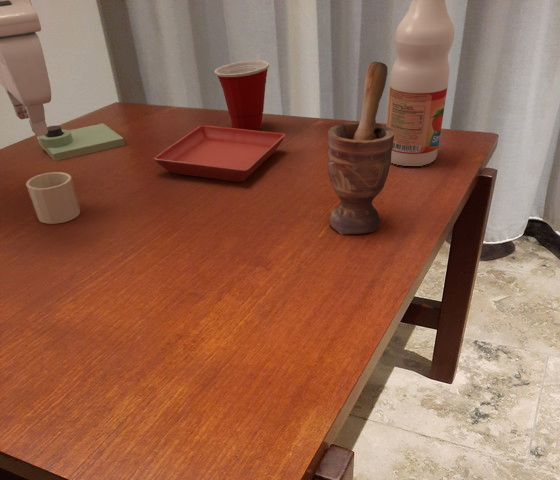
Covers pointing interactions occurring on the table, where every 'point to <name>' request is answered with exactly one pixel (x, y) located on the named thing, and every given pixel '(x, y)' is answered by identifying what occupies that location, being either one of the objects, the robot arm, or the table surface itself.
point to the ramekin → (53, 197)
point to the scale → (80, 141)
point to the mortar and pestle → (360, 160)
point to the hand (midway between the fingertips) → (32, 125)
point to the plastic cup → (244, 92)
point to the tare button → (54, 131)
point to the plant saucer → (220, 152)
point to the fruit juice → (419, 82)
